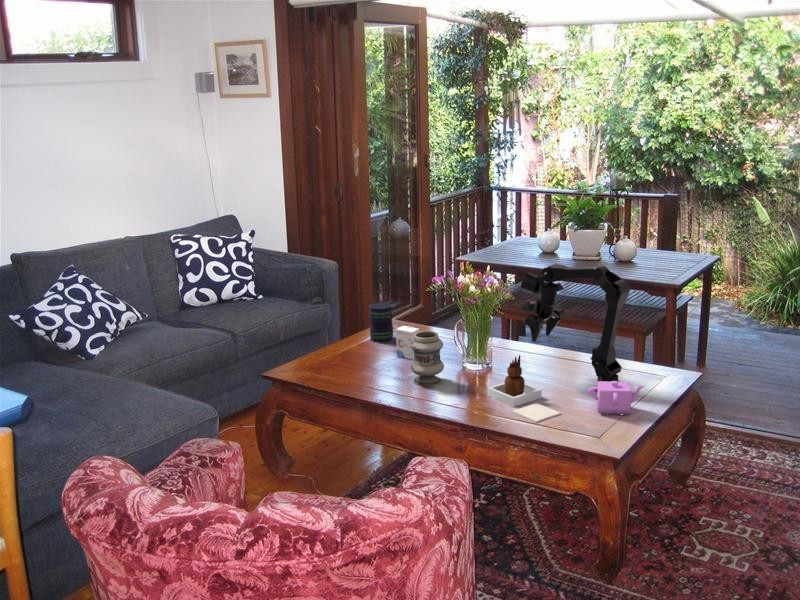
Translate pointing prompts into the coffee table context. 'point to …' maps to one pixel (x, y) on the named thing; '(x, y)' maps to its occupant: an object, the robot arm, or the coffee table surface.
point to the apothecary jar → (427, 358)
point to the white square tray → (529, 395)
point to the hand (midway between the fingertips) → (540, 338)
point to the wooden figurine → (514, 379)
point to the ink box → (405, 341)
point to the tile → (536, 412)
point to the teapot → (614, 397)
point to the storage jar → (381, 322)
